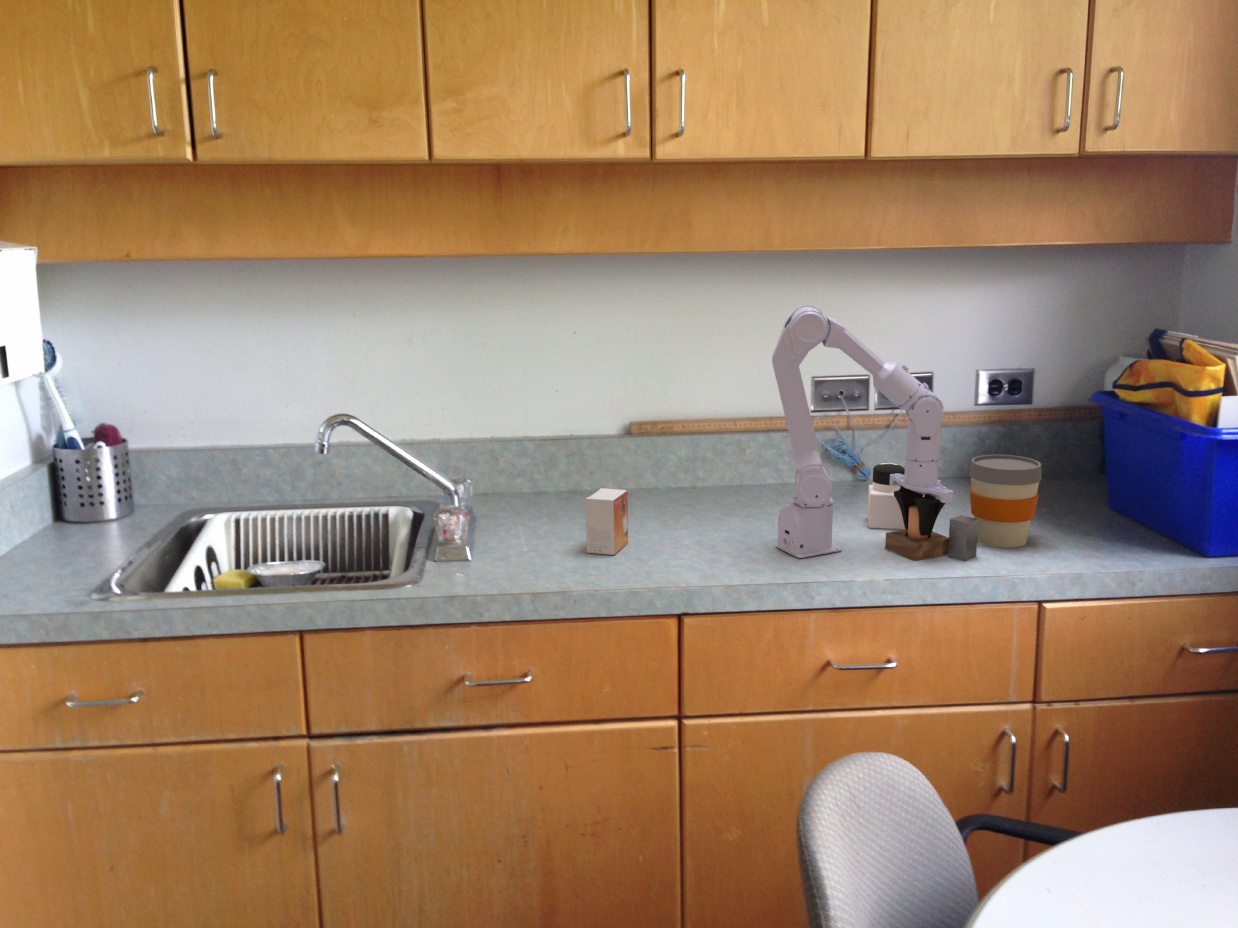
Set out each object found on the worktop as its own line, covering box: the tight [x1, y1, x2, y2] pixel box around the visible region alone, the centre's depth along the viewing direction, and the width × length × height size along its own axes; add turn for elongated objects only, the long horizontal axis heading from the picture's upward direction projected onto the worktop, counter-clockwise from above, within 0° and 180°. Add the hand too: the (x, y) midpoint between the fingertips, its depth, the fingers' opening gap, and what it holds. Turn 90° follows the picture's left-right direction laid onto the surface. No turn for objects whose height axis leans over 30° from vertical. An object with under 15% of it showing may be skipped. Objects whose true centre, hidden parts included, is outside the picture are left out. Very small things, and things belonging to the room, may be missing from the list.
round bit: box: [908, 505, 928, 539], centre depth 187 cm, size 4×4×7 cm
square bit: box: [947, 514, 979, 562], centre depth 184 cm, size 4×4×7 cm
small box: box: [585, 487, 629, 556], centre depth 192 cm, size 8×6×10 cm
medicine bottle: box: [867, 462, 905, 530], centre depth 203 cm, size 7×7×12 cm
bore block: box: [884, 529, 949, 562], centre depth 188 cm, size 8×8×3 cm
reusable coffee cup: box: [968, 454, 1043, 549], centre depth 192 cm, size 12×12×15 cm
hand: (918, 531), depth 187 cm, fingers closed on round bit, 3 cm apart
